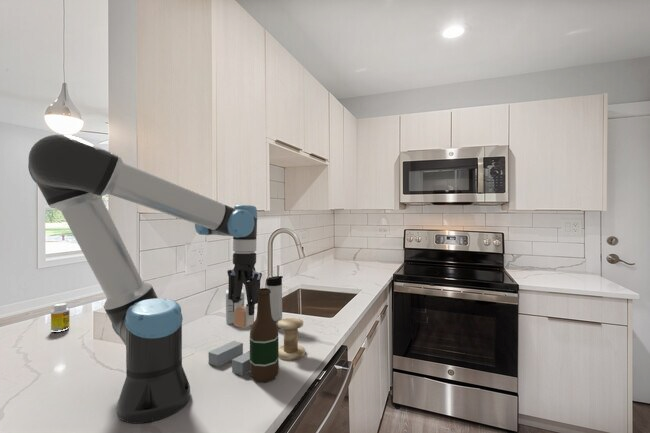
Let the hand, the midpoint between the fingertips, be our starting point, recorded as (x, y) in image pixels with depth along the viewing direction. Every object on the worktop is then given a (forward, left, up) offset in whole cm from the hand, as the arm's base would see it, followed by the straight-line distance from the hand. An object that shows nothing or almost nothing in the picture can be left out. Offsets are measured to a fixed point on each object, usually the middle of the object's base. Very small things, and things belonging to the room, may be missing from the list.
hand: (243, 323), depth 106 cm
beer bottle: (-9, -18, -9) cm, 22 cm away
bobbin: (+6, -15, -9) cm, 18 cm away
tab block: (0, 0, 0) cm, 1 cm away
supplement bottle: (-23, +74, -9) cm, 78 cm away
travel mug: (+23, +6, -9) cm, 25 cm away
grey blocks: (-7, -5, -9) cm, 13 cm away
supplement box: (+20, +25, -9) cm, 33 cm away
